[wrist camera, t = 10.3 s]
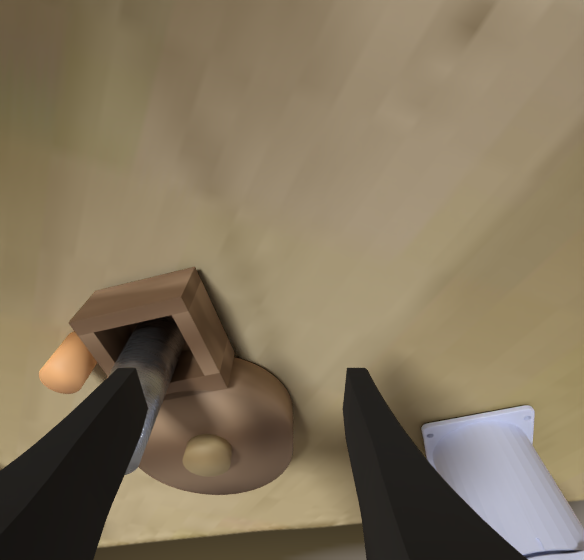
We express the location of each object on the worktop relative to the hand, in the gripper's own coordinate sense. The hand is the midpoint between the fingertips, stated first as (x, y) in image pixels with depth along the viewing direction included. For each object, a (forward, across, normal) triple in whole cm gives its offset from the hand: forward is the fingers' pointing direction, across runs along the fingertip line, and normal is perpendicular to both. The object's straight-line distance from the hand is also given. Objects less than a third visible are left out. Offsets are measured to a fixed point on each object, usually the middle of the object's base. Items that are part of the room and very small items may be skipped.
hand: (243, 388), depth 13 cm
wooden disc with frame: (+9, +5, +9) cm, 14 cm away
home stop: (+9, +12, +6) cm, 16 cm away
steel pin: (+8, +6, +5) cm, 12 cm away
